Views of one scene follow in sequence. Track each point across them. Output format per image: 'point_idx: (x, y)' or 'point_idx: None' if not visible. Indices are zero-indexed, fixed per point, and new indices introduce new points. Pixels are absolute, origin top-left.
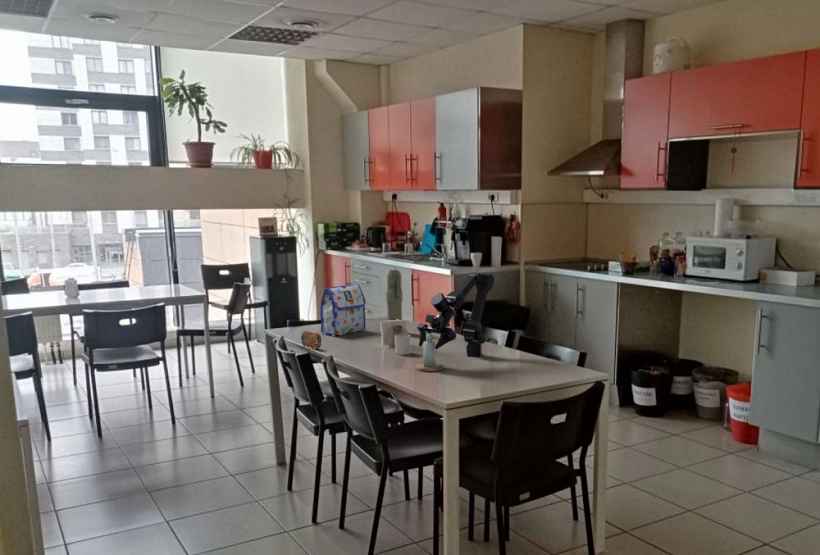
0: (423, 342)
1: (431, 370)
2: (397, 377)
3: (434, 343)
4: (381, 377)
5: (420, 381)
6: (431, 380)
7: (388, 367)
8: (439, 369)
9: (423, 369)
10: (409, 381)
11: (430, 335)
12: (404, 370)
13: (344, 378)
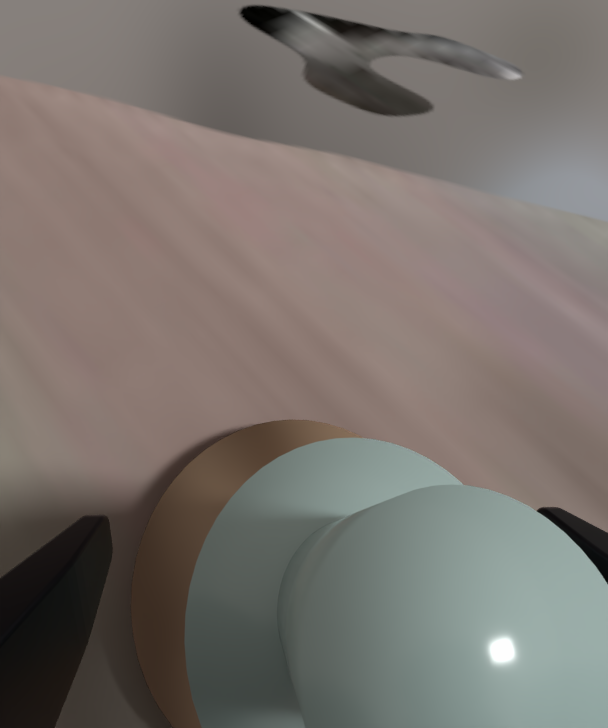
0: (432, 463)
1: (185, 471)
2: (296, 208)
3: (187, 647)
4: (372, 163)
5: (93, 218)
6: (30, 276)
7: (567, 356)
8: (137, 567)
9: (256, 426)
10: (162, 184)
11: (310, 589)
12: (410, 365)
13: (488, 73)
